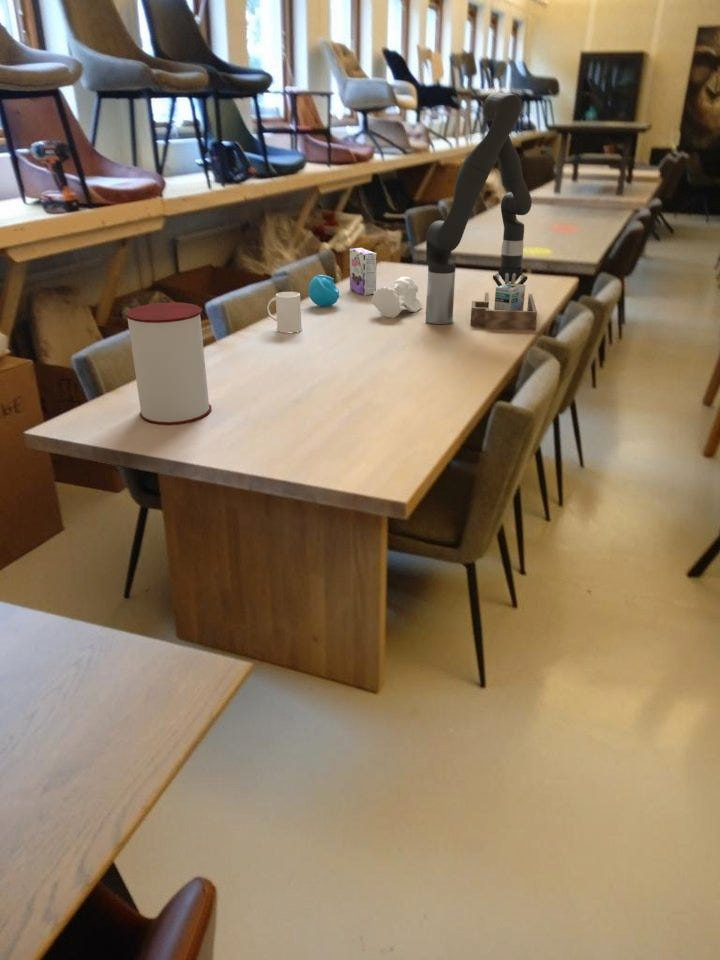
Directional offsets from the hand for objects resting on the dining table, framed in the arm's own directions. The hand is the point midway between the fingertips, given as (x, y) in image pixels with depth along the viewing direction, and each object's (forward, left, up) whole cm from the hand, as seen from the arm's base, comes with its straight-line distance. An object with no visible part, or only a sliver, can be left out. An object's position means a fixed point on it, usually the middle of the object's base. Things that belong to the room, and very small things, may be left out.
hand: (508, 301), depth 272 cm
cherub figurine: (-40, -6, -4) cm, 41 cm away
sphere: (-68, -2, -4) cm, 68 cm away
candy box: (-57, +24, -4) cm, 62 cm away
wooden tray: (-2, -11, -3) cm, 12 cm away
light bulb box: (0, -7, -4) cm, 8 cm away
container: (-84, -114, -4) cm, 141 cm away
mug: (-75, -36, -4) cm, 83 cm away
